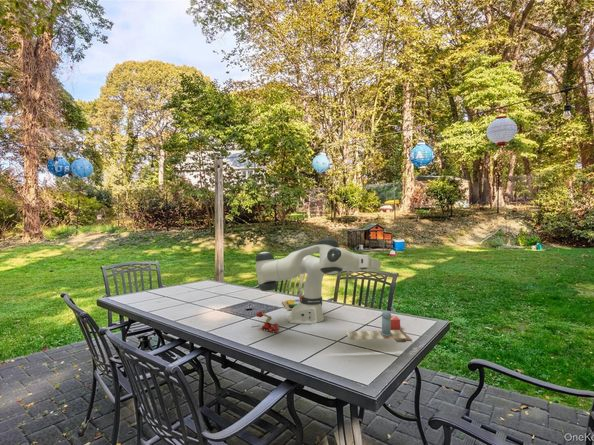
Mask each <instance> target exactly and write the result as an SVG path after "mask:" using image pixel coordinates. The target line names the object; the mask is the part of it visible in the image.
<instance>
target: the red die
mask: <svg viewBox="0 0 594 445" xmlns="http://www.w3.org/2000/svg"><path fill="white" fill-rule="evenodd" d="M400 329H401V319H400V318H399V316H396V315H395V316H394V315H391V330H400Z"/></svg>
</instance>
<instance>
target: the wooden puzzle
mask: <svg viewBox="0 0 594 445" xmlns="http://www.w3.org/2000/svg"><path fill="white" fill-rule="evenodd" d="M281 303H282V305H283V306H284V309H286V311H289V312H290V311H292V309H293V307H295V306H296V305H297V304H299V303H300V299H299V298H298V299H288V300H285V301H281Z"/></svg>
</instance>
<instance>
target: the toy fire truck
mask: <svg viewBox="0 0 594 445" xmlns="http://www.w3.org/2000/svg"><path fill="white" fill-rule="evenodd" d="M256 317H257V318H263V317H265V318H266V320H265V322H264V324H263V325H262V326H261V330H263V331H264V332H265V331H266V332H267V333H268V332H271V333H273V334H277V333H279V332H280V327H279V326H280V325H279V324H278V323H277V322H275V323H273V324H272V323H270V322H271V320H272V319H273V318H272V316H271V315H268V314H266V313H265V312H264V311H259V312H258V313H256Z"/></svg>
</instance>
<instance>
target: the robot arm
mask: <svg viewBox="0 0 594 445" xmlns="http://www.w3.org/2000/svg"><path fill="white" fill-rule="evenodd" d="M315 253H318V255H319V257H317V256H313V255H312V254H315ZM254 262H255V273H256V277H257V278H256V279H257V282H258V288H259V290H260V291H262V292H265V293H271V292H273V291H275V290H276V289H277V287H278V282H281V281H288V280H291V279H293V278H297V277H298V276H302V275H303V274H306V278H305V281H304V282H303V296H302V295H299V296H298V299H300V303H299V304H297V305H296V306H295V307H293V309H292V310H291V313H290V314H289V315H287V321H288V322H289V323H290V324H298V325H299V324H301V325H303V324H305V325H312V324H318V323H321V322H323V321H325V320H324V319H325V318H324V312H323V296H322V290H323V289H322V287H323V286H322V285H323V284H322V283H323V279H324V276H325V275H326V276H336V275H338V274H340V273H341V272H342V271H343V270H345V271H347V272H353V273H357V272H358V271H359V272H363V271H368V270H370V271H371V270H374V271H375V270H376V271H377V270H380V269H381V267H382V266H381V264H382V263H381V261H380V260H379V259H377V258H375V257H371V256H370V254H360V253H355V252H351V251H349V250H348V249H345V248H342V247H340V244H339V242H338V241H337V240H336V239H334V238H333V237H324V238H322V239H320V240H319V241H315V242H314V243H310V244H307V245H304V246H301V247H298V248H296V249H294V250H291V251H290V253H289V254H288V255H287V256H285V257H283V258H279V259H275V257H274V254H272V253H271V252H268V251H262V252H260V253H258V254H256V255H255V259H254Z"/></svg>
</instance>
